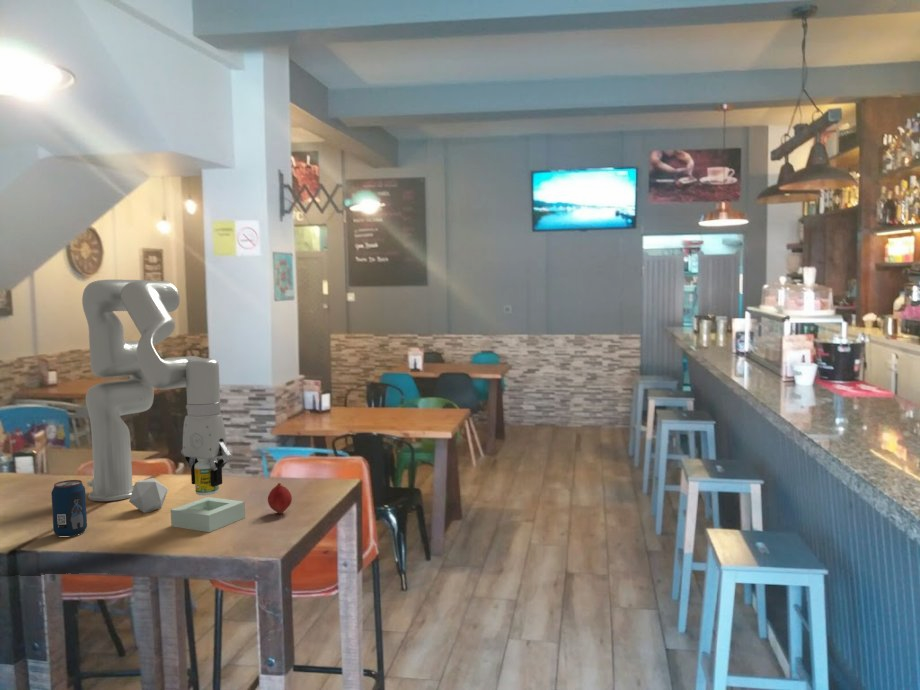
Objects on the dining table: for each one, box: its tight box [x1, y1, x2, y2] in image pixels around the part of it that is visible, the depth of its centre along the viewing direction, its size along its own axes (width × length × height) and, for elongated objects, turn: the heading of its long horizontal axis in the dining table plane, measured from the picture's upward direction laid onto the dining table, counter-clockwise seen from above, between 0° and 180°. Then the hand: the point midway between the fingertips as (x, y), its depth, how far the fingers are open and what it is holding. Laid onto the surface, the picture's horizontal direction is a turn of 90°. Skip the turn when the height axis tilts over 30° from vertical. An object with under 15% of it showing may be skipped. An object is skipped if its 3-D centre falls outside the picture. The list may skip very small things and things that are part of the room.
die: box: [128, 477, 169, 514], centre depth 188 cm, size 8×9×10 cm
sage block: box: [170, 496, 246, 533], centre depth 177 cm, size 12×12×4 cm
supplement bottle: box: [194, 458, 220, 496], centre depth 176 cm, size 5×5×10 cm
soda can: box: [51, 479, 88, 537], centre depth 169 cm, size 7×7×12 cm
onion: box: [267, 482, 293, 515], centre depth 183 cm, size 6×6×8 cm
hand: (207, 483), depth 176 cm, fingers closed on supplement bottle, 5 cm apart
